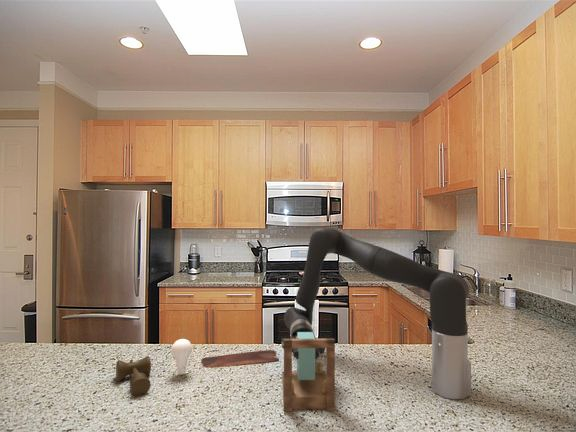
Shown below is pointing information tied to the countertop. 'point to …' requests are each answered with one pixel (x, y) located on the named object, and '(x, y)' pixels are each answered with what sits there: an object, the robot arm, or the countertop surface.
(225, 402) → the countertop surface
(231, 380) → the countertop surface
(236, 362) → the wooden tablet
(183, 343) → the lightbulb
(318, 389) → the peg shelf
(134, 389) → the kendama
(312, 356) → the teal block
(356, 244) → the robot arm
